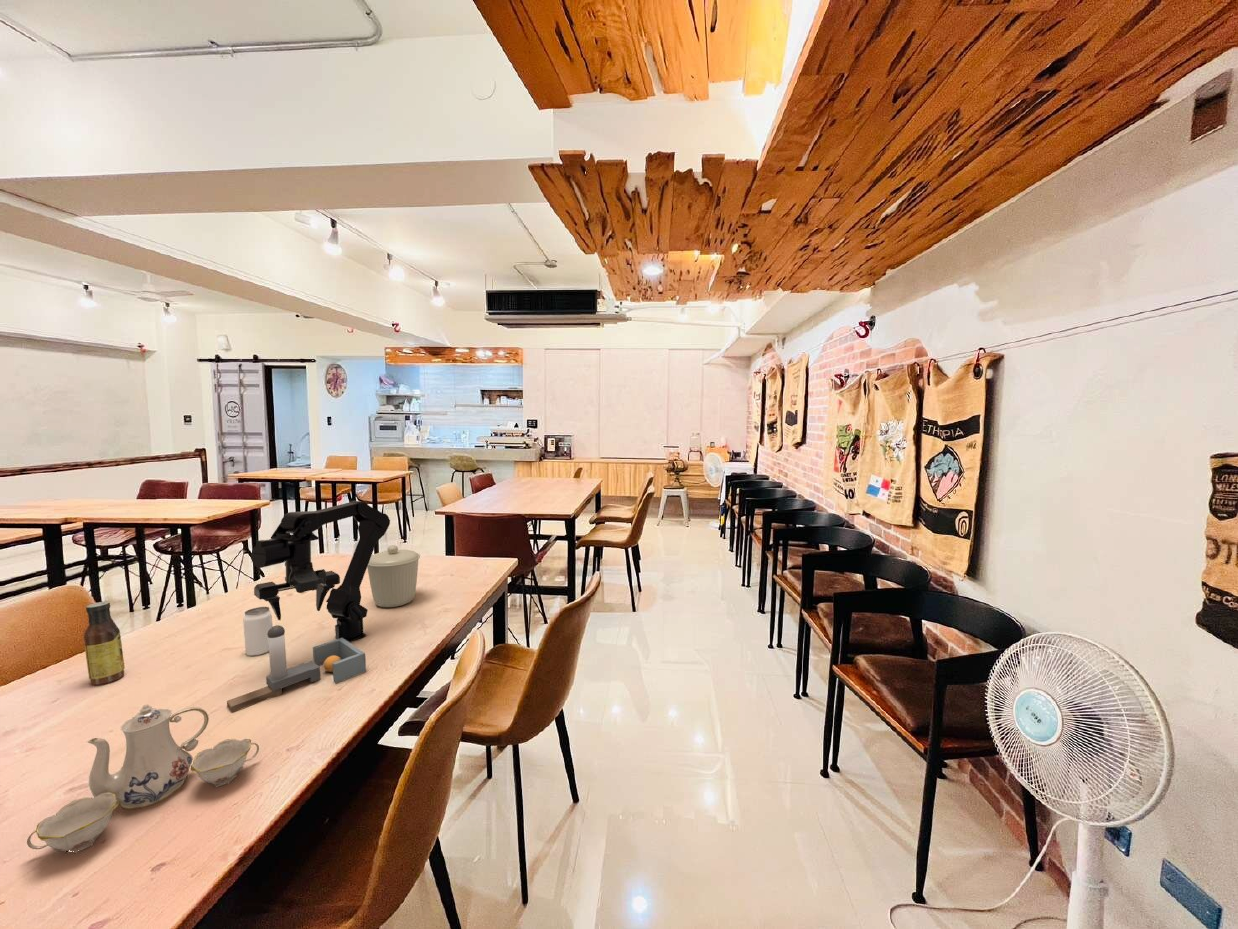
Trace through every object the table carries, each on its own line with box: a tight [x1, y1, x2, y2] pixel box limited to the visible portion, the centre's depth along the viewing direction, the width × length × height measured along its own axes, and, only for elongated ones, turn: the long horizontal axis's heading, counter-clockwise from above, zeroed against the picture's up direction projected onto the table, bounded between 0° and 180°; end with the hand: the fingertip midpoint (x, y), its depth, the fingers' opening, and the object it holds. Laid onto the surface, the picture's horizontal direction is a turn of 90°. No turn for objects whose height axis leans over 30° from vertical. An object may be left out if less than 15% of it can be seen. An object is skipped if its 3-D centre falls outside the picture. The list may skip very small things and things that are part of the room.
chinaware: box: [26, 704, 260, 854], centre depth 82 cm, size 28×17×17 cm, turn 146°
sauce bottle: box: [83, 601, 125, 686], centre depth 120 cm, size 6×6×20 cm
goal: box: [312, 638, 367, 684], centre depth 126 cm, size 7×14×5 cm, turn 51°
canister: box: [367, 544, 421, 608], centre depth 171 cm, size 18×18×21 cm
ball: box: [323, 655, 342, 673], centre depth 125 cm, size 4×4×4 cm
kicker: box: [265, 624, 321, 691], centre depth 118 cm, size 10×5×16 cm, turn 141°
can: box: [242, 606, 274, 657], centre depth 135 cm, size 6×6×12 cm
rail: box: [226, 685, 283, 713], centre depth 112 cm, size 10×4×1 cm, turn 141°
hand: (299, 615), depth 130 cm, fingers open, 9 cm apart
